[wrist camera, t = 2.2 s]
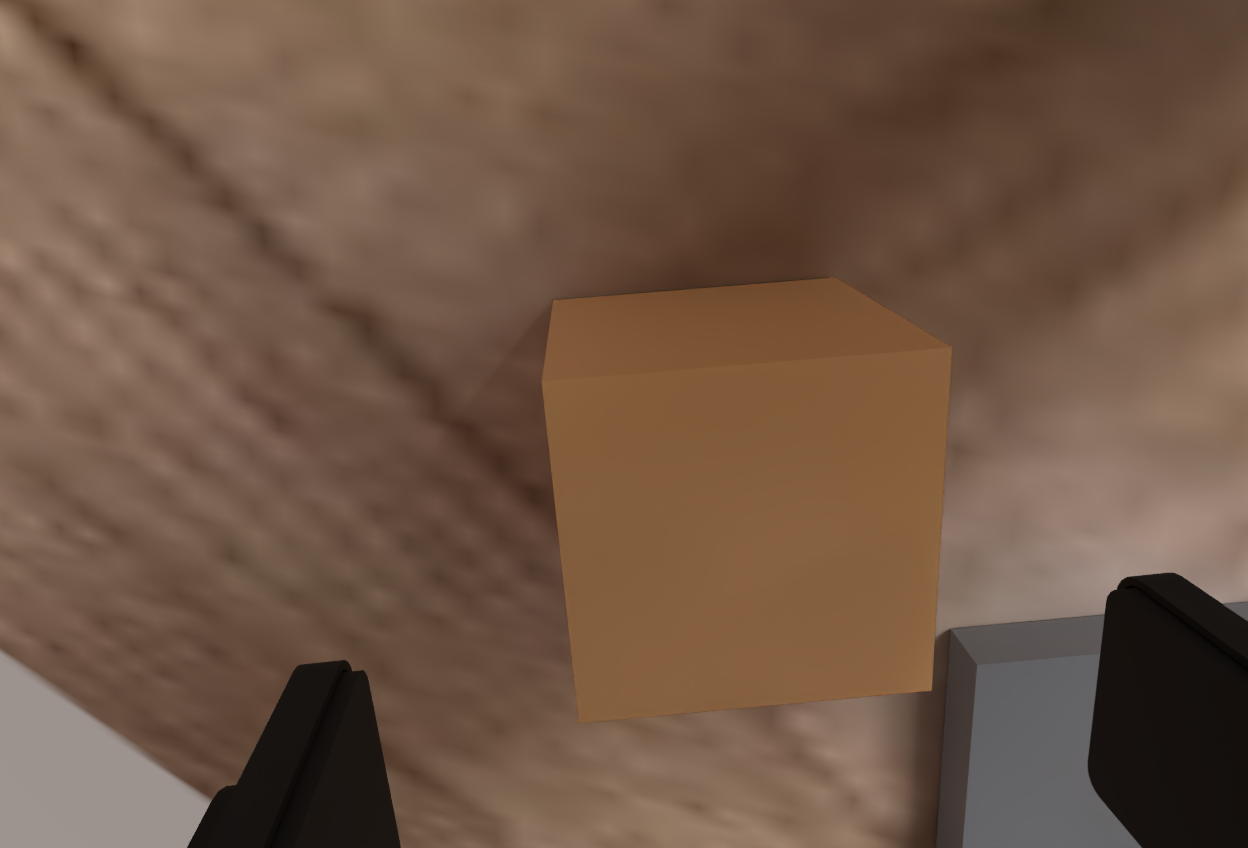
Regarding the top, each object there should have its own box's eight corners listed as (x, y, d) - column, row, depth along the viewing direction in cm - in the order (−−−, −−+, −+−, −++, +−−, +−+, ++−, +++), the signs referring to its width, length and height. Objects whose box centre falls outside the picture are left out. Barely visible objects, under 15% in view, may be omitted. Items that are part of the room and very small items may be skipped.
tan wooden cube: (553, 300, 18) (541, 381, 12) (834, 277, 18) (952, 347, 12) (578, 553, 20) (578, 723, 14) (832, 530, 20) (931, 690, 14)
